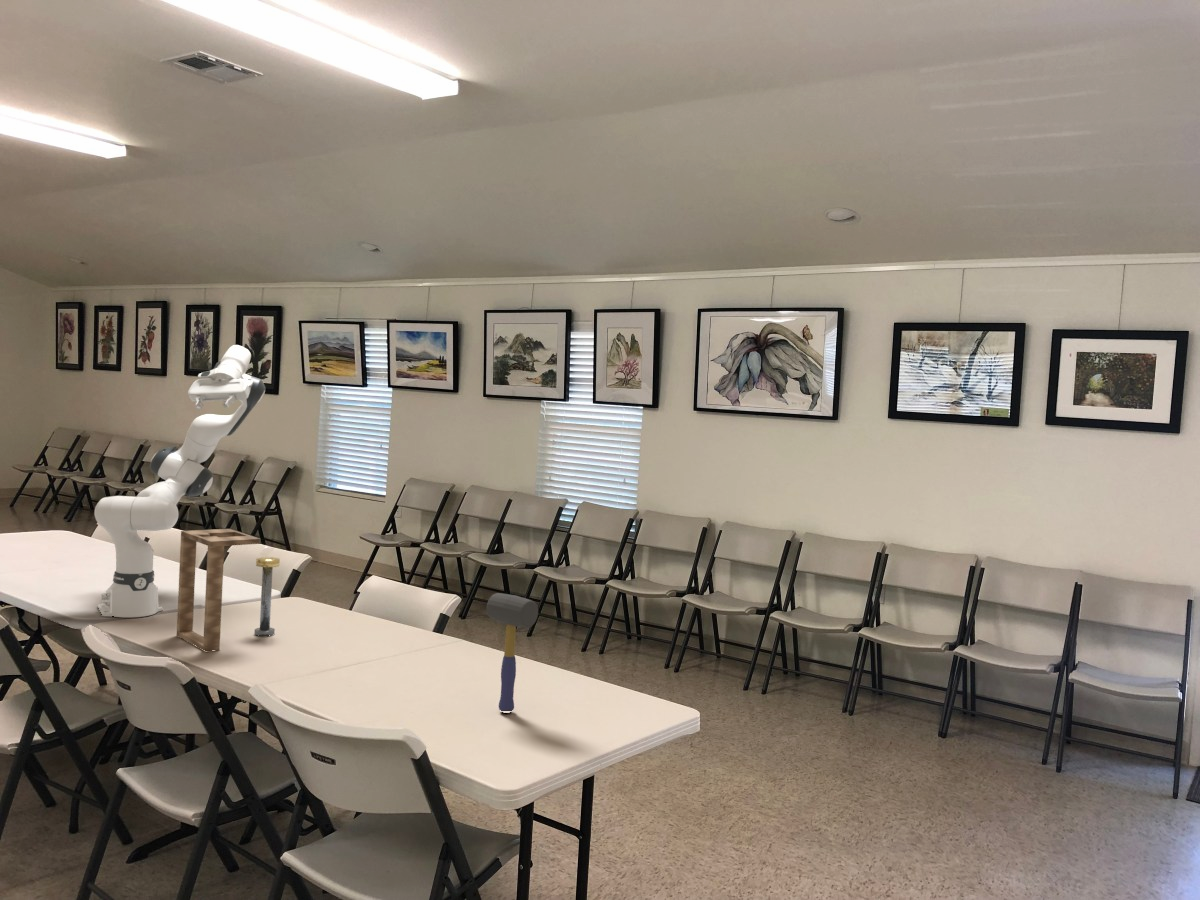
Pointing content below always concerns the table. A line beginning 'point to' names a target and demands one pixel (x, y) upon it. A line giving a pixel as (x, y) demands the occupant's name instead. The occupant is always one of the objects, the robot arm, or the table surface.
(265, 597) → the hanger bolt
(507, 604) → the rubber mallet
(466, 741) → the table surface
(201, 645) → the keyhole rack
